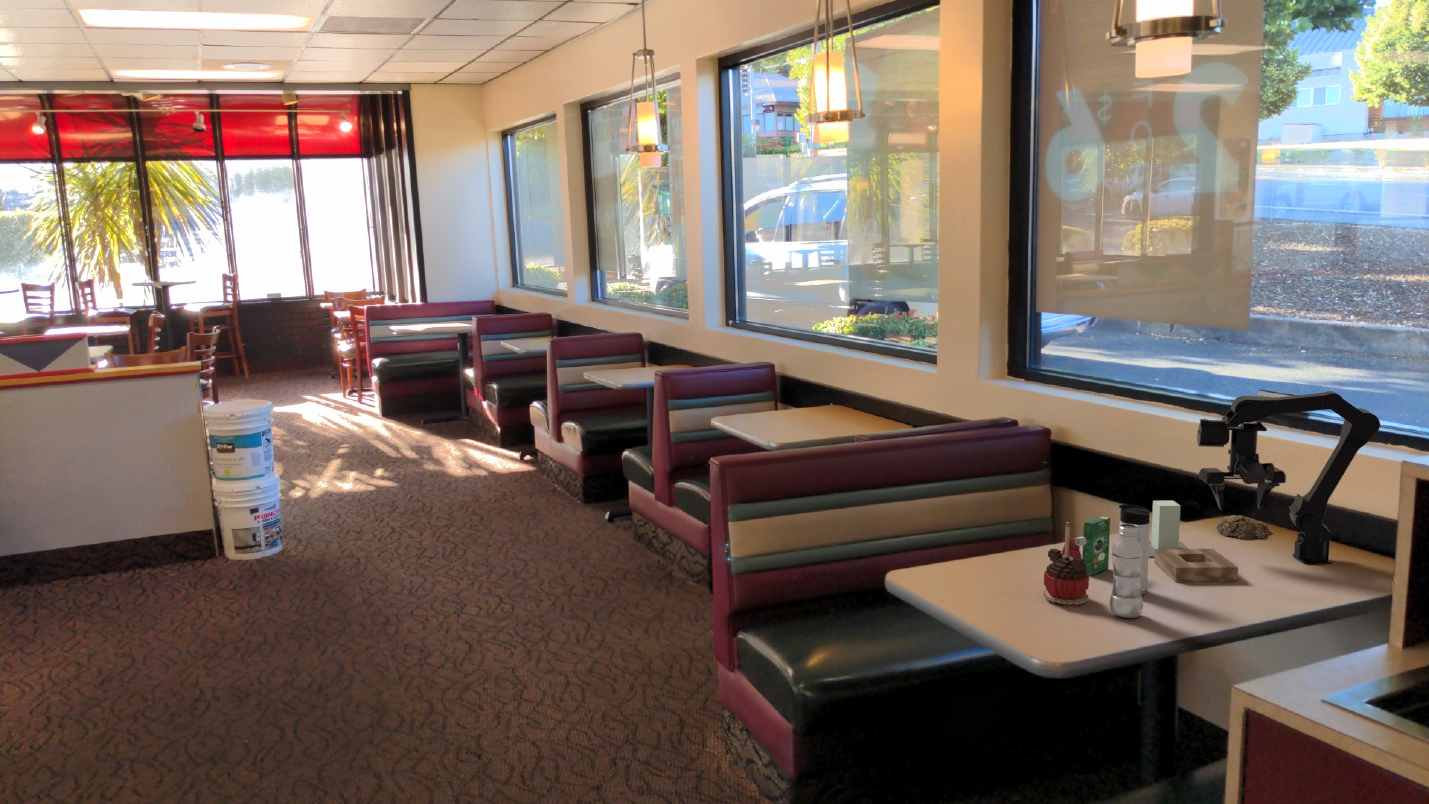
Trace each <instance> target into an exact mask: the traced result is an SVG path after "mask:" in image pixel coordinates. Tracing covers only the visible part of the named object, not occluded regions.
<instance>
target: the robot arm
mask: <svg viewBox="0 0 1429 804" xmlns="http://www.w3.org/2000/svg"><path fill="white" fill-rule="evenodd" d="M1230 406H1231V407H1230V409H1229V410H1228V411H1227V412H1226V413H1225V415H1224V416H1222V418H1221V419H1208V418H1200V419H1199V424H1198V428H1197V433H1196V438H1197V439H1196V440H1197V446H1198V447H1205V448H1207V447H1209V448H1210V447H1211V448H1224V447H1225V446H1227V445H1228V444H1229V442H1230V449H1229V448H1228V449H1227V451H1228V452H1227V454H1229V465H1227V467H1226V469H1227V471H1222V470H1220V469H1218V468H1216V467H1202V468H1200V470H1199V472H1198V479H1199V480H1201V481H1202V482H1203V483H1205V484H1207V485H1208V486H1209V487H1210V490H1211V491H1212V493H1213V496H1214V498H1215V501H1216V504H1217V507H1218V509H1219V510H1220V511H1223V509H1224V489H1225V486H1226V485H1225V484H1224V483H1223V482H1225V480H1242V482H1243V483H1244V484H1246V485H1252V484H1255V485H1256V484H1257V491H1256V495H1257V496H1256V505H1257V509H1258V510H1262V508H1263V505H1264V504H1265V502H1266V501H1267V498H1268V496H1269V494H1270V493H1271V491H1273V489H1274V488H1276V487H1280V485H1281V484H1286V483H1287V474H1286V473H1285V471H1283V470H1281V469H1280V468H1277V467H1276V466H1275V464H1274V463H1272V462H1264V463H1262V462H1261V461H1260V456H1259V455H1260V454H1259V453H1257V450H1258V449H1257V447H1258V446H1257V445H1258V433H1259V432H1267V431H1268V428H1267V427H1266V426H1265V425H1263V423H1262V420H1266V419H1267V418H1270V417H1273V416H1277V415H1284V414H1295V413H1306V412H1315V411H1316V412H1317V411H1325V410H1330V411H1333V413H1335V414H1337V415H1338V416H1340V417H1341V419H1344V420H1343V424H1342V427H1341V430H1340V437H1339V440H1338V443H1337V444H1336V446H1335V447H1334V450H1333V451H1332V453H1331V455H1330V456H1329V458H1328V459H1327V461H1326V463H1325V465H1324V466H1323V468H1322V469H1321V471H1320V473H1319V475H1318V476H1317V478H1316V480H1315V481H1314V483H1313V485H1312V486H1311V488H1310V490H1309V491H1308V492H1307V493H1305V494H1304V495H1301V494H1299V493H1297V494H1296V495H1295V498H1294V501H1293V503H1292V504H1291V505H1289V507H1288V508H1289V510H1290V511H1289V517H1290V520H1291V522H1292V523H1293V524H1294V526H1295V527H1296V528H1297V529H1298V531H1299V532H1301V533H1297V535H1296V539H1295V541H1294V550H1293V554H1292V557H1293V558H1295V559H1297V561H1300V562H1301V563H1303V564H1306V565H1308V564H1310V565H1313V564H1314V565H1318V564H1319V565H1321V564H1323V565H1325V564H1329V565H1330V564H1331V565H1332V564H1333V561H1332V560H1330V559H1329V557H1330V555H1329V554H1330V544H1331V543H1330V542H1331V537H1332V535H1333V533H1332V532H1331V530H1330V529H1328V527H1327V525H1325V524H1324V523H1323V521H1324V519H1325V516H1326V513H1327V507H1328V502H1329V500H1330V498H1331V496H1332V495H1333V493H1334V491H1335V489H1336V488H1337V487H1338V485H1339V483H1340V482H1341V480H1342V478H1343V477H1344V475H1345V473H1346V471H1347V470H1348V468H1349V467H1350V465H1351V464H1352V461H1353V460H1354V458H1355V456H1356V455H1357V453H1358V451H1359V450H1360V449H1362V448H1363V447H1364V446H1365V445H1367V444H1368V443H1369V442H1370V441H1371V440H1372V439H1373V438H1374V436H1375V435H1376V434H1377V433H1378V432H1379V430H1380V428H1381V421H1380V419H1379V417H1378V416H1377V415H1376V414H1374V413H1372V412H1370V411H1369V410H1368V409H1366V408H1361V407H1360V408H1357V407H1356V406H1354V405H1353V404H1351V403H1350V402H1348V401H1347V400H1346V399H1344V398H1343V397H1342V396H1341V395H1340V394H1338V392H1335V391H1334V390H1328V391H1324V392H1319V393H1318V392H1316V393H1309V394H1308V393H1307V394H1305V393H1304V394H1300V395H1299V394H1297V395H1288V396H1286V395H1285V396H1279V397H1278V396H1277V397H1267V396H1256V395H1241V396H1238V397H1236V398H1235V399H1234V400H1233V401H1232V403H1231V405H1230ZM1230 431H1231V434H1230Z"/></svg>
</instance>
